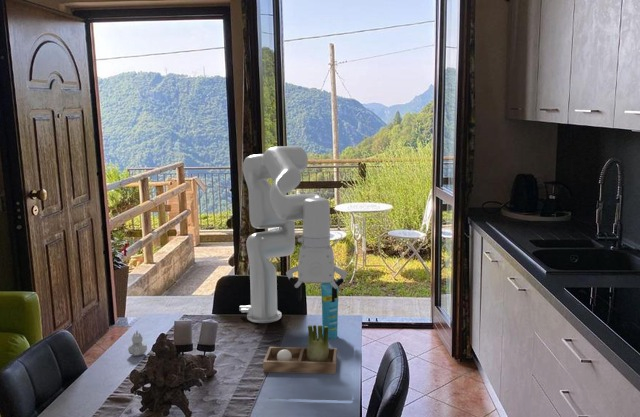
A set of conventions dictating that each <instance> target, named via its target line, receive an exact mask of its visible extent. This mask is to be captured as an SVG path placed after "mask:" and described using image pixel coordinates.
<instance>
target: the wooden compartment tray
mask: <svg viewBox="0 0 640 417" xmlns="http://www.w3.org/2000/svg"><path fill="white" fill-rule="evenodd" d="M307 348H308V346H307V347H304V346H303V347H299V346H298V347H297V346H293V347H292V346H269V347H268V349H267V352H266V354H265V356H264V357H263V358H264V359H263V362H262V366H263V367H262V368H263V369H262V371H263V373H286V374H287V373H289V374H290V373H294V374H295V373H297V374H300V373H301V374H333V375H335V374H336V371H337V362H338V348H337V347H329V354H328V359H327V362H308V359H307ZM282 349H287V350H289V351H290V352H291V354H292V360H291V361H278V360H277V354H278V352H279V351H280V350H282Z"/></svg>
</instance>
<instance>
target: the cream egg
mask: <svg viewBox="0 0 640 417" xmlns="http://www.w3.org/2000/svg"><path fill="white" fill-rule="evenodd" d="M277 360H278V361H291V360H292V354H291V352H290V351H289V350H287V349H282V350H280V351H279V352H278V354H277Z"/></svg>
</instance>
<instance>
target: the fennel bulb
mask: <svg viewBox="0 0 640 417" xmlns="http://www.w3.org/2000/svg"><path fill="white" fill-rule="evenodd" d="M307 330H308V340H307V341H308V343H307V347H308V348H307V359H308V362H327V359H328V354H329V348H330V347H329V346H330V345H329V344H330V343H329V339H328V327H327V326H324V335H323V330H322V325H320V324H318V325H317V324H314V325H310V324H309V325H307Z"/></svg>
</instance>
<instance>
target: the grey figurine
mask: <svg viewBox="0 0 640 417" xmlns="http://www.w3.org/2000/svg"><path fill="white" fill-rule="evenodd" d="M131 341H132V343H131V344H130V345H129V346H128V353H129V354H130V355H132V356H135V357H136V356H137V357H139V356H142V355H144V354H145V353H146V352H147V350H148V345H147V344H146V342H144V341H143V335H142V334H141V332H139V331H138V330H136V332H134V333H133V335H132V337H131Z"/></svg>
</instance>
